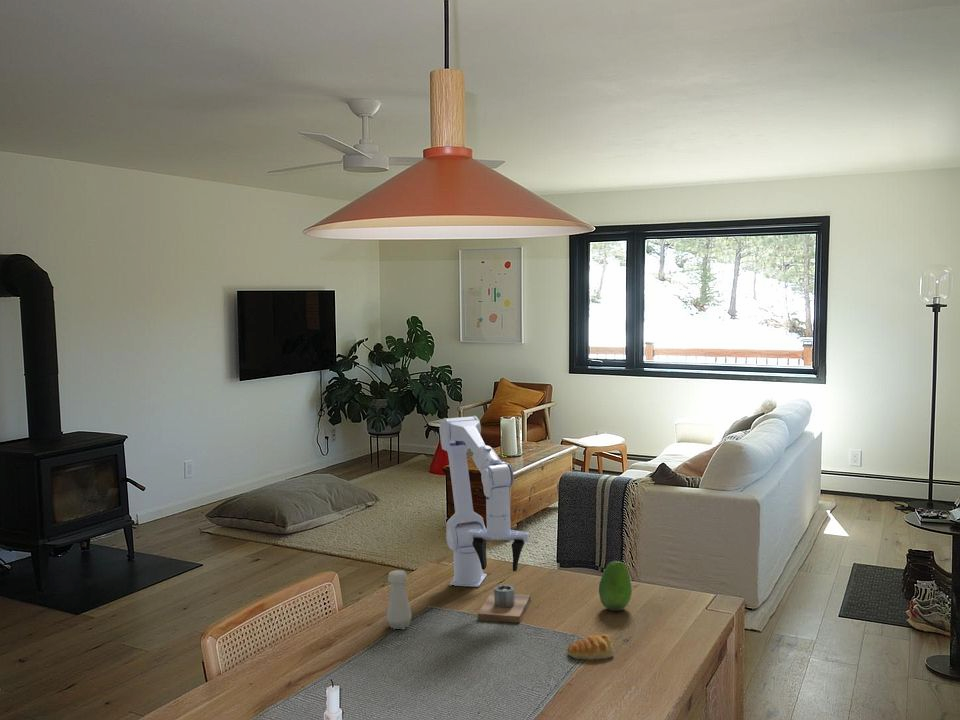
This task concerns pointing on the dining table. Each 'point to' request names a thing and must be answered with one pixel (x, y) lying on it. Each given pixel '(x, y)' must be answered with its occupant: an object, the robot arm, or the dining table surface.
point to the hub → (504, 596)
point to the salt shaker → (398, 601)
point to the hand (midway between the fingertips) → (499, 569)
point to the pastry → (591, 648)
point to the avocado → (615, 586)
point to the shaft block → (504, 609)
